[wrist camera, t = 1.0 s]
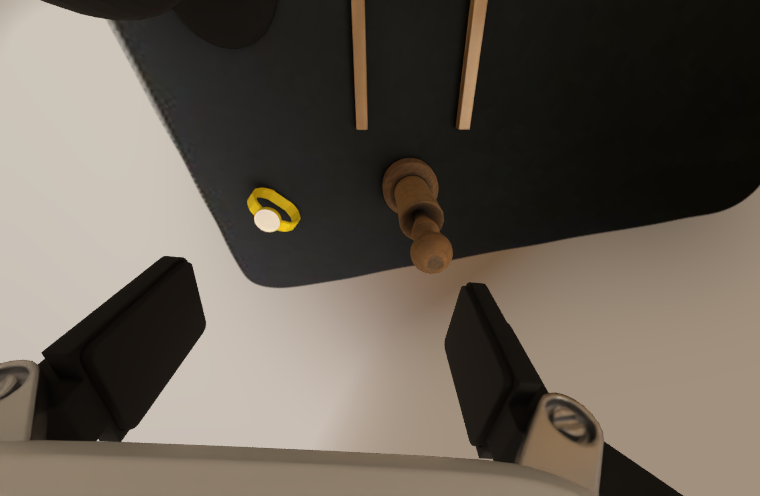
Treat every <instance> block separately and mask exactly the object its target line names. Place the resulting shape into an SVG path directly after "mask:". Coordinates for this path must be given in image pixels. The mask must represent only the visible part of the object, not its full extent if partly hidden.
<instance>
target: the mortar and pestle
mask: <svg viewBox="0 0 760 496" xmlns="http://www.w3.org/2000/svg"><path fill="white" fill-rule="evenodd" d="M382 188H383V195H384V199H385V201H386V203H387V205H388V206H389V207H390V208H391V209H392V210H393V211H395V212H396V213H398V216H399V223H400V227H401V230H402V232H403V233H404V234H405V235H406V236H407V237H409V238H411V239H413V240H414V242H413V244H412V246H411V259H412V262H413V263H414V265H415V266H416V267H417V268H418V269H419V270H421V271H422V272H425V273H429V274H433V273H439V272H441V271H443V270H444V269H446V268H447V267H448V266H449V264H450V262H451V260H452V255H453V251H452V246H451V244H450V242H449V240H448V239H447V238H446V237H445V236H444V235H442V234H440V233H439V231H440V229H441V228H442V226H443V222H444V215H443V212H442V210H441V208H440V206H439V205H438V203H437V201H436V198H437V195H438V181H437V178H436V176H435V174H434V172H433V171H432V169H431V168H430V167H429V166H428V165H427V164H426V163H425V162H423V161H422V160H419V159H416V158H404V159H400V160H398V161H396V162H395V163H393V164H392V165H391V166H390V167H389V168H388V169H387V171H386V173H385V175H384V178H383V184H382Z"/></svg>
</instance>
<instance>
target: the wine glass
mask: <svg viewBox="0 0 760 496" xmlns="http://www.w3.org/2000/svg"><path fill="white" fill-rule="evenodd" d="M42 1H44V2H47V3H50V4H53V5H56V6H59V7H62V8H65V9H68V10H71V11H74V12H77V13H80V14H84V15H88V16H93V17H98V18H104V19H111V20H142V19H146V18H150V17H154V16H158V15H160V14H162V13H164V12H166V11H168V10H170V9H172V8H173V9H174V11H175V12H176V13H177V15H178V16H179V18H180V19H181V20H182V21H183V22H184V24H185V25H186V26H187V27H188V28H189V29H190V30H192V31H193V32H194V33H195V34H196V35H198V36H199V37H200V38H202V39H203V40H205V41H207V42H209V43H211V44H214V45H217V46H220V47H224V48H230V49H231V48H242V47H246V46H249V45H251V44H253V43H254V42H256V41H257V40H258V39H260V38H261V37H262V36H263V34H264V33H265V32H266V31H267V29H268V27H269V26H270V24H271V21H272V19H273V16H274V12H275V8H276V1H277V0H42Z"/></svg>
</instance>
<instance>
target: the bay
mask: <svg viewBox="0 0 760 496" xmlns="http://www.w3.org/2000/svg"><path fill="white" fill-rule="evenodd" d="M487 1H488V0H470V8H469V17H468V25H467V34H466V42H465V51H464V59H463V68H462V76H461V85H460V93H459V102H458V111H457V119H456V128H457V129H470V123H471V115H472V108H473V101H474V94H475V87H476V80H477V73H478V65H479V58H480V51H481V44H482V37H483V30H484V23H485V15H486V8H487ZM351 9H352V34H353V59H354V83H355V108H356V129H357V130H367V129H368V111H367V66H366V21H365V0H351Z"/></svg>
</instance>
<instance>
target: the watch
mask: <svg viewBox="0 0 760 496" xmlns="http://www.w3.org/2000/svg"><path fill="white" fill-rule="evenodd" d="M257 197H261V198H265V199H268V200H270V201H271V202H273V203H274V204H276V205H277V206H279V207H281V208H282V209H284V210H285V211H286V212H287V213H288V215H289V216H290V217H291V220H292V222H287V221H283V220H282V219H281V216H280V214H279V213H278V212H277V211H276V210H275V209H273V208H269V207H262V206H261V205H260V204H259V203H258V201H257ZM247 204H248V207H249V210H250V212H251V213H252V214H253V215H254V221H255V224H256V225H257V227H258V228H260V229H261V230H263V231H265V232H274V231H276V230H278V231H283V232H286V231H291V230H293V229H294V227H295V226H296V225H297V224H298V222H299V220H300V215H299V211H298V210H297V208H296V207H295V206H294V204H293V203H291V202H290V201H288V200H287V199H285V198H284V197H282V196H281V195H279V194H278V193H276V192H275V191H274V190H271V189H268V188H263V187H262V188H256V189H254V191H253V192H252V194H251V195H250V197H249V199H248V201H247Z"/></svg>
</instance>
